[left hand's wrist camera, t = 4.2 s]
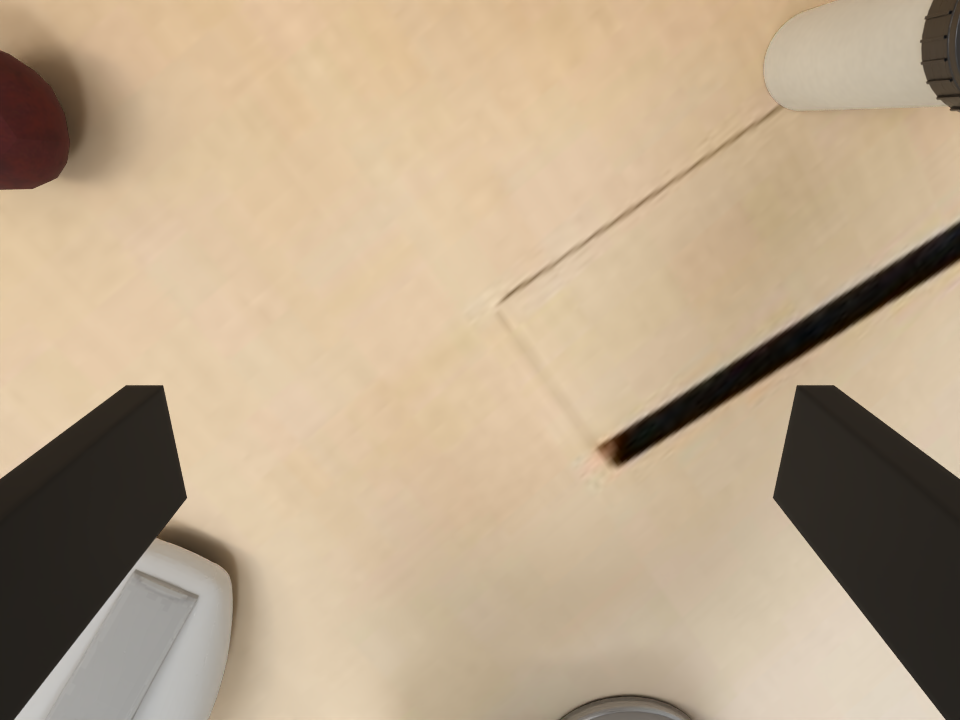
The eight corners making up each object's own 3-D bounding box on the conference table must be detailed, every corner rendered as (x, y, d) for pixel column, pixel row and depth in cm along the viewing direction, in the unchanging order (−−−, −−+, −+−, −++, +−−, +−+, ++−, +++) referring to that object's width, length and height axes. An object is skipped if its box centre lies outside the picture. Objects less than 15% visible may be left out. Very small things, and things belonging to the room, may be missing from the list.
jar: (743, 69, 35) (926, 33, 21) (815, -14, 34) (1066, -115, 19) (804, 130, 37) (1015, 136, 22) (876, 53, 35) (1154, 5, 21)
